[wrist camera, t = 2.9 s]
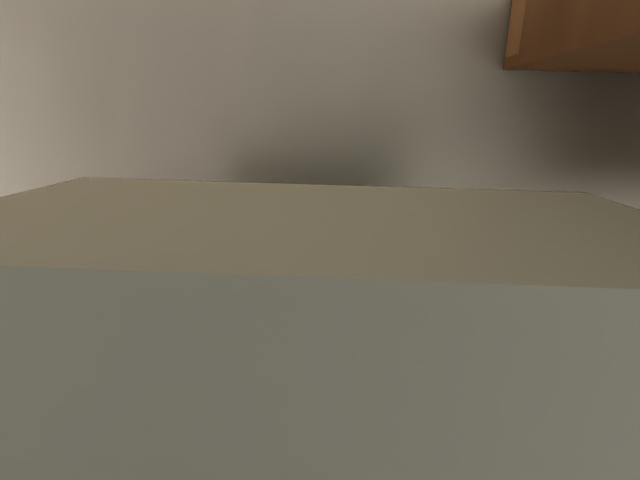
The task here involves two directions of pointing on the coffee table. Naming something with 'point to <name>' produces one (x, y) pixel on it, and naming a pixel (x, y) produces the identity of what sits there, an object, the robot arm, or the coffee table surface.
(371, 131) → the coffee table surface
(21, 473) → the grey-green box
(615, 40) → the brown wooden rack
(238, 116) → the coffee table surface
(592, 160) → the coffee table surface
